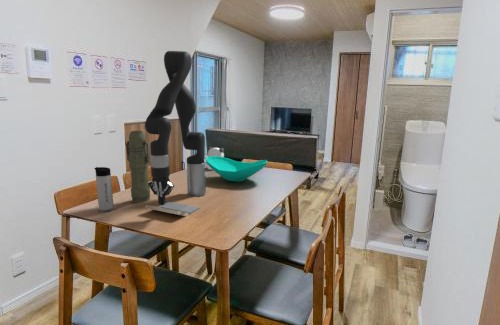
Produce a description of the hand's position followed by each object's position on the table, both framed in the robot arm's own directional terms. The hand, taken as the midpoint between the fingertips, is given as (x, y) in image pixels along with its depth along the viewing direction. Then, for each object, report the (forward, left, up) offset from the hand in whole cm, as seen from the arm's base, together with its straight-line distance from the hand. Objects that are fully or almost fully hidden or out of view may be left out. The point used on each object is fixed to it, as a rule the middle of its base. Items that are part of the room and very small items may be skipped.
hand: (162, 204), depth 142 cm
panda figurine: (-93, -31, -6) cm, 98 cm away
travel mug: (+4, -30, -6) cm, 31 cm away
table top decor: (-70, -2, -6) cm, 70 cm away
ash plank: (-3, 0, -4) cm, 5 cm away
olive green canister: (-13, -25, -6) cm, 29 cm away
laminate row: (-11, 0, -6) cm, 13 cm away
